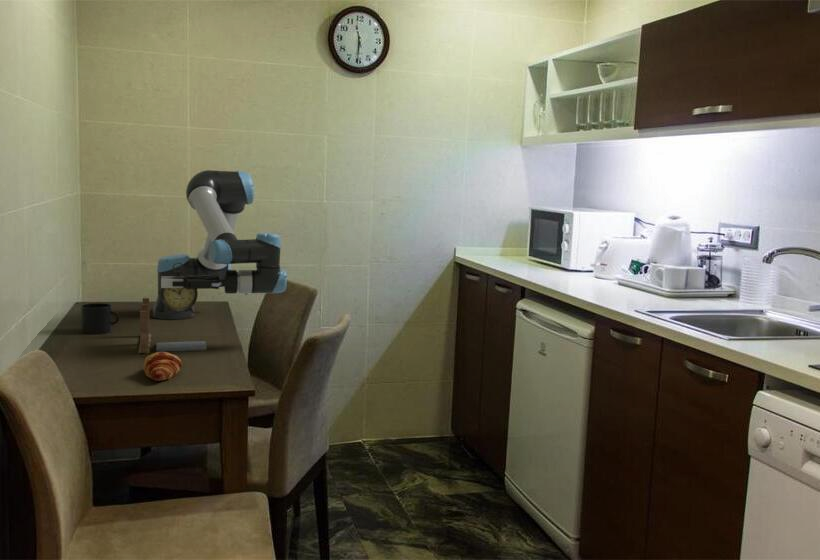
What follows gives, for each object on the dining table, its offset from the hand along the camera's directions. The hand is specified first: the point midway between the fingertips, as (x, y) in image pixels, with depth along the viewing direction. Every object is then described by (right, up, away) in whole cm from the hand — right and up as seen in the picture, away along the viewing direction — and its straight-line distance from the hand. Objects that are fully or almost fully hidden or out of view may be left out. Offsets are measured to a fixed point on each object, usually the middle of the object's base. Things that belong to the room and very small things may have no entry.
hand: (161, 282), depth 235 cm
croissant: (+9, -26, -27) cm, 38 cm away
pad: (+5, -21, +5) cm, 22 cm away
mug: (-28, -17, +23) cm, 41 cm away
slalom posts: (-7, -20, +7) cm, 22 cm away
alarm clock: (+4, -10, +3) cm, 11 cm away
